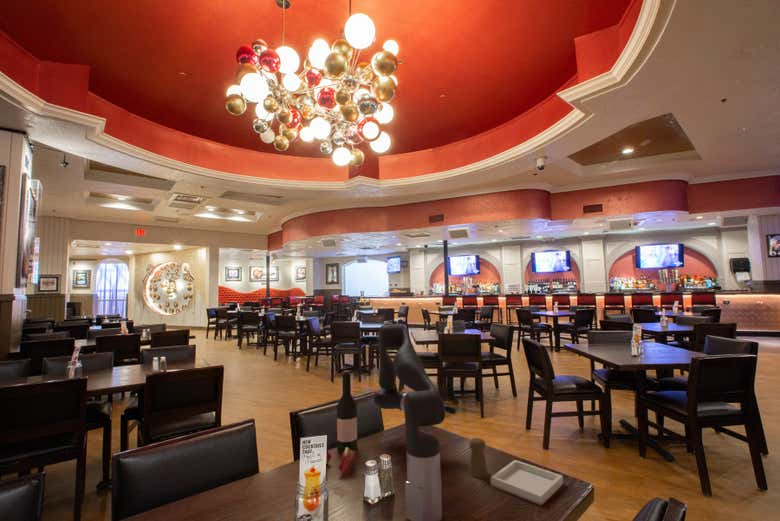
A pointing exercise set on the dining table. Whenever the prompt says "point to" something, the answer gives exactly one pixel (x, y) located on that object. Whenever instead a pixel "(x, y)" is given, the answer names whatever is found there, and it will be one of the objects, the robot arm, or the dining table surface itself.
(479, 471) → the cork
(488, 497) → the dining table surface
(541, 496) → the serving tray
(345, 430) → the wine bottle
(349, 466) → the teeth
